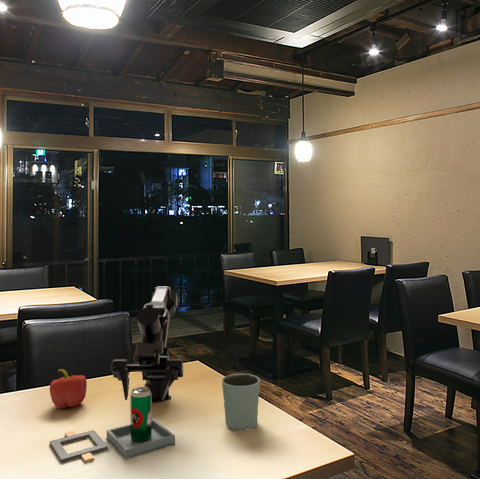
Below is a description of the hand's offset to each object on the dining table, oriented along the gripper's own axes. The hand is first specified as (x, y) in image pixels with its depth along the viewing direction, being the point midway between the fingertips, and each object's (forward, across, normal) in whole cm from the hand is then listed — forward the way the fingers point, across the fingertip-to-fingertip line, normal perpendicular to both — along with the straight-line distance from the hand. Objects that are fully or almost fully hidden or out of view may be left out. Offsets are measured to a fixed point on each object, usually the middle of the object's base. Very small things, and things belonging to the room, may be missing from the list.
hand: (144, 399), depth 114 cm
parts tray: (+10, 0, +2) cm, 10 cm away
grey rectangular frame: (+11, -14, +1) cm, 18 cm away
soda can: (+9, 0, +2) cm, 9 cm away
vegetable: (-7, -26, +20) cm, 33 cm away
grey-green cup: (+3, +25, +9) cm, 27 cm away
